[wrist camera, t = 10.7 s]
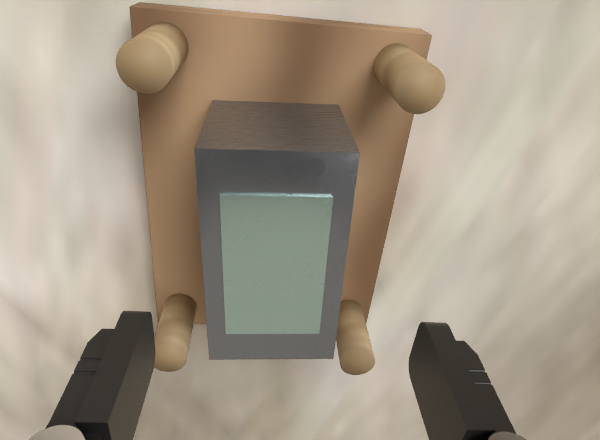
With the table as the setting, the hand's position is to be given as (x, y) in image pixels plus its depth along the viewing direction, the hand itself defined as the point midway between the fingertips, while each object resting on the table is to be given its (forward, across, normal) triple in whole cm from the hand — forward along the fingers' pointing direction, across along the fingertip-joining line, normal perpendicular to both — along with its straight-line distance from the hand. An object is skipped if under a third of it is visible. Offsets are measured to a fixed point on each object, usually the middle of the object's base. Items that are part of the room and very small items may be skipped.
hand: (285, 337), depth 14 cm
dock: (+9, 0, 0) cm, 9 cm away
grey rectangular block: (+8, 0, 0) cm, 8 cm away
